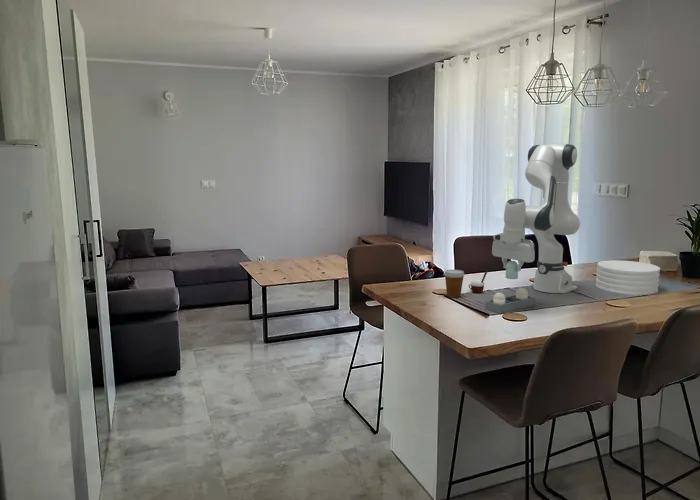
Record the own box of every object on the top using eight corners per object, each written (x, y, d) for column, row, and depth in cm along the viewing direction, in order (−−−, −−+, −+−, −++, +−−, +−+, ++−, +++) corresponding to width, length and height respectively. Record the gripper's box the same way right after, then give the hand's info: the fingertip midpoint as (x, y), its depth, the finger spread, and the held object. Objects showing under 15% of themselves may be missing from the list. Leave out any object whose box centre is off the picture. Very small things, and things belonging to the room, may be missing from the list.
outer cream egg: (498, 307, 233) (499, 290, 232) (507, 310, 229) (508, 293, 228) (490, 309, 231) (491, 292, 229) (499, 312, 226) (500, 294, 225)
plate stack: (643, 282, 284) (645, 260, 282) (668, 295, 257) (671, 272, 255) (588, 281, 287) (589, 259, 285) (607, 294, 260) (609, 271, 258)
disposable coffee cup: (448, 299, 250) (449, 274, 248) (440, 294, 260) (440, 270, 257) (467, 297, 253) (468, 272, 251) (458, 293, 262) (459, 268, 260)
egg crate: (519, 303, 243) (520, 293, 242) (534, 307, 237) (534, 297, 236) (485, 311, 231) (485, 301, 230) (499, 315, 225) (500, 305, 224)
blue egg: (510, 276, 235) (511, 259, 234) (520, 278, 231) (521, 260, 229) (503, 277, 232) (503, 260, 231) (512, 279, 228) (513, 262, 227)
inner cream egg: (520, 302, 241) (521, 286, 240) (529, 305, 237) (530, 288, 236) (512, 304, 238) (513, 287, 237) (522, 306, 234) (523, 289, 233)
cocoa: (466, 291, 266) (466, 268, 264) (476, 289, 269) (475, 266, 267) (480, 295, 258) (479, 270, 256) (490, 293, 261) (489, 268, 259)
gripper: (539, 240, 222) (537, 272, 224) (500, 234, 239) (498, 264, 241) (529, 241, 218) (527, 274, 221) (490, 235, 235) (489, 266, 237)
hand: (512, 269), depth 231 cm, fingers closed on blue egg, 5 cm apart
